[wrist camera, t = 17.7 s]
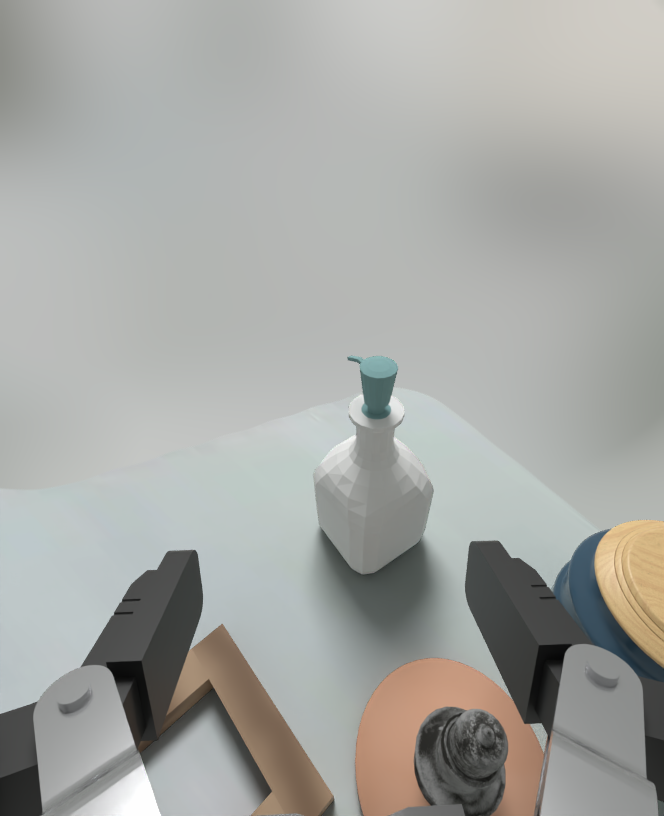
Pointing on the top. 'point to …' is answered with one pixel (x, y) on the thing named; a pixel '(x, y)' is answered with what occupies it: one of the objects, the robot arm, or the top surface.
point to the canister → (620, 593)
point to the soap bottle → (373, 478)
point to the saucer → (400, 722)
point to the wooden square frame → (251, 725)
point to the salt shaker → (462, 759)
